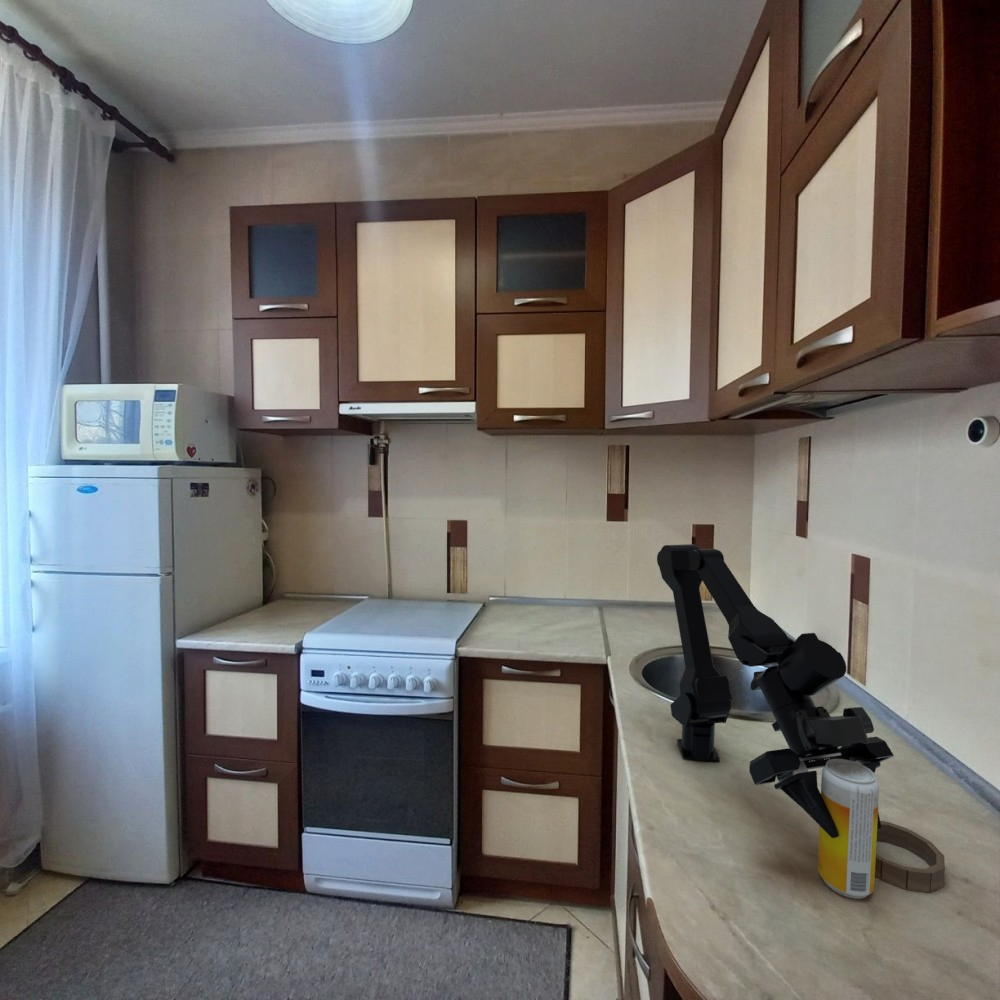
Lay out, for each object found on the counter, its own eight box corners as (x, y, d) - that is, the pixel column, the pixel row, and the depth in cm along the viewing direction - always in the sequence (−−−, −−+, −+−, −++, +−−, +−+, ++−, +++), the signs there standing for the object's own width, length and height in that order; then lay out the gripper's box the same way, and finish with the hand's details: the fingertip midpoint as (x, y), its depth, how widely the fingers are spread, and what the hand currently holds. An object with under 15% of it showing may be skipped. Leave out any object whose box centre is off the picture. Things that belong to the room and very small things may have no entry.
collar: (837, 833, 78) (838, 816, 77) (913, 840, 76) (914, 824, 76) (874, 886, 68) (875, 867, 68) (962, 896, 66) (964, 877, 66)
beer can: (851, 864, 71) (856, 756, 70) (886, 901, 65) (891, 783, 64) (807, 865, 71) (811, 757, 70) (837, 902, 65) (842, 784, 64)
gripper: (767, 692, 68) (835, 831, 58) (884, 679, 73) (966, 807, 63) (726, 722, 77) (779, 849, 67) (833, 710, 81) (899, 827, 71)
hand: (857, 833), depth 66 cm, fingers closed on beer can, 6 cm apart
